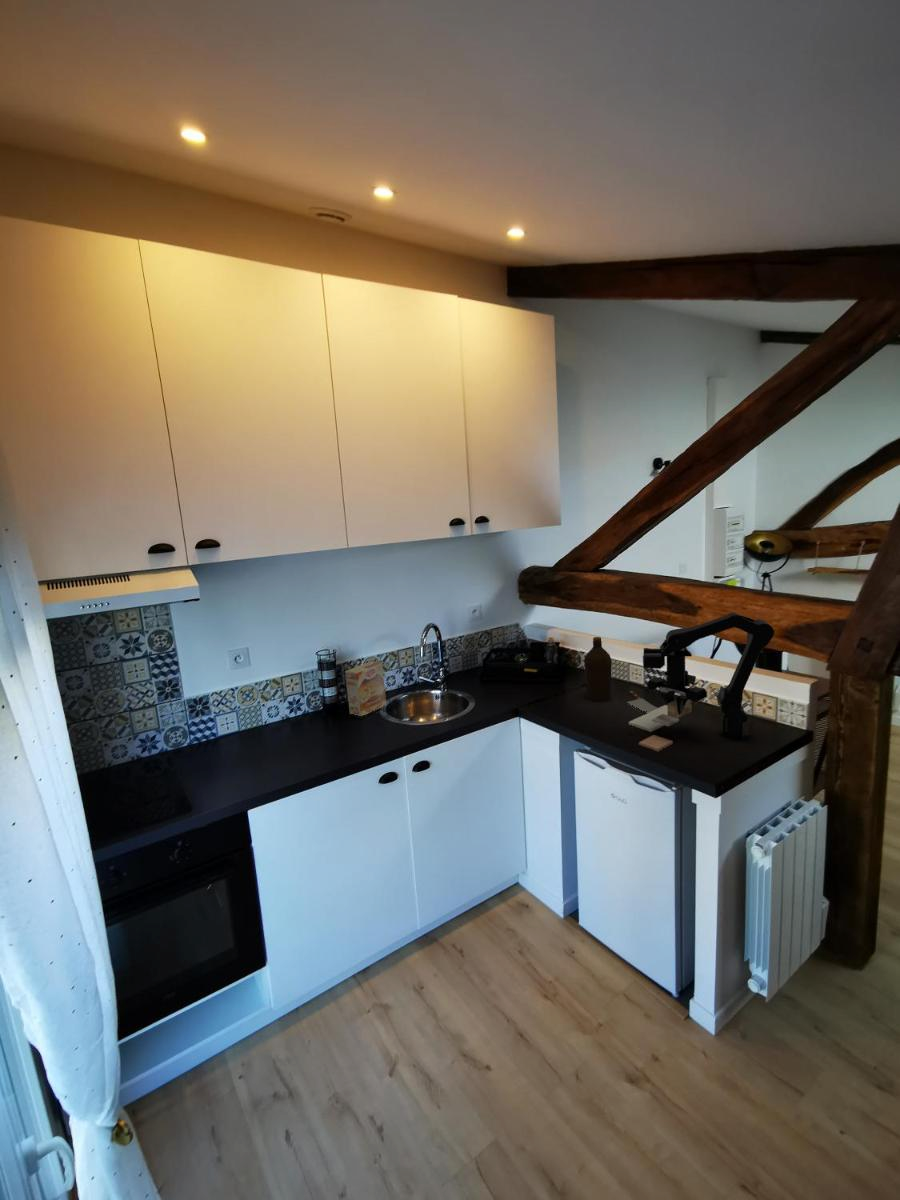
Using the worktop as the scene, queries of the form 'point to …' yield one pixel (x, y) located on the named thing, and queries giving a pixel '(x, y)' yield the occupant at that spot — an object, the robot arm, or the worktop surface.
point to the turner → (673, 713)
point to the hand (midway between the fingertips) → (676, 713)
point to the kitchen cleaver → (641, 703)
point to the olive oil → (598, 672)
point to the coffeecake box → (365, 688)
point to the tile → (655, 743)
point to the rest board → (649, 719)
